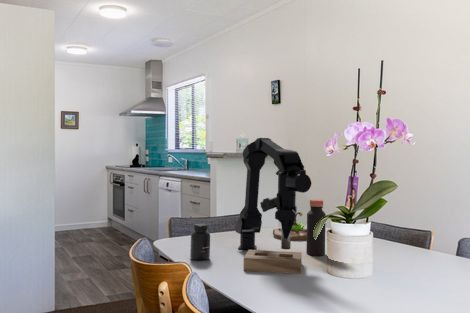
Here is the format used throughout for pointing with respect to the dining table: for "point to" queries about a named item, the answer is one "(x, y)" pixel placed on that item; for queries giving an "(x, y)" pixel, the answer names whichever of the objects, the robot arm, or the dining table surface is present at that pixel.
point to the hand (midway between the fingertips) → (286, 237)
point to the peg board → (273, 261)
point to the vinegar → (313, 217)
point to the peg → (285, 241)
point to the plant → (294, 231)
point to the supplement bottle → (200, 243)
